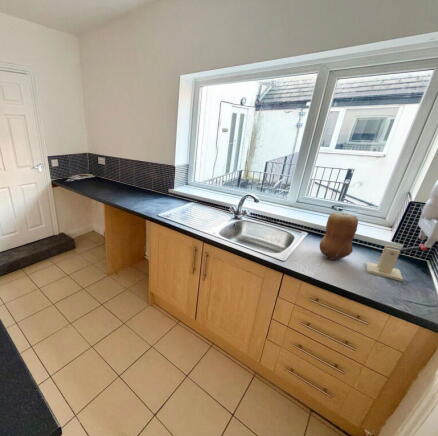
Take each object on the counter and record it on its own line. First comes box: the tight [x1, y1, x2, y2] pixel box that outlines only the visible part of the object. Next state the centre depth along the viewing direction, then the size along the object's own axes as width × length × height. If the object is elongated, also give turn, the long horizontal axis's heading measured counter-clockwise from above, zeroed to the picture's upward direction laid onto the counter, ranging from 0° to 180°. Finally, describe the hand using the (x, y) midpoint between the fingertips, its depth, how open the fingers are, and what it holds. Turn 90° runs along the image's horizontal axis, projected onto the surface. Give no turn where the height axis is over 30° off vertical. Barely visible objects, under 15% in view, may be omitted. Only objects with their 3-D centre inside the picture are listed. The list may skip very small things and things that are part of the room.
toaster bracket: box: [365, 244, 404, 282], centre depth 113 cm, size 12×10×13 cm
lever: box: [390, 243, 427, 253], centre depth 108 cm, size 12×5×2 cm, turn 53°
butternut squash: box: [319, 212, 359, 261], centre depth 122 cm, size 14×13×25 cm
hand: (424, 242), depth 104 cm, fingers open, 8 cm apart
